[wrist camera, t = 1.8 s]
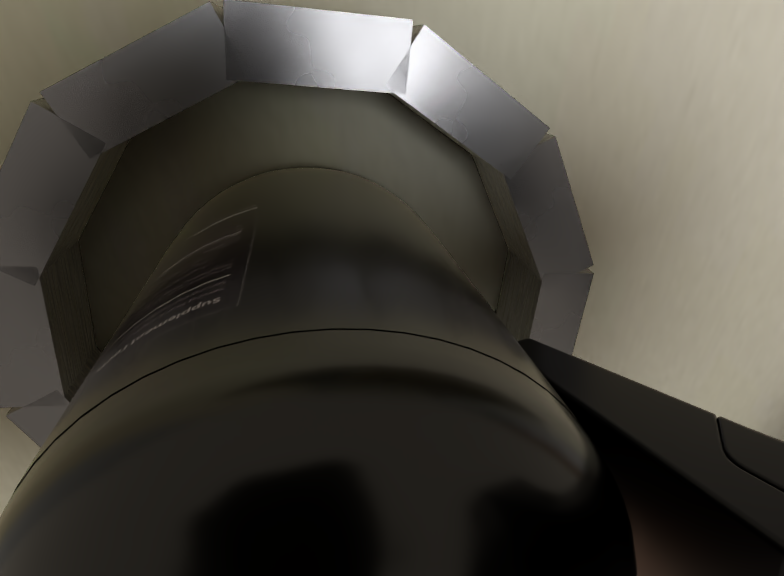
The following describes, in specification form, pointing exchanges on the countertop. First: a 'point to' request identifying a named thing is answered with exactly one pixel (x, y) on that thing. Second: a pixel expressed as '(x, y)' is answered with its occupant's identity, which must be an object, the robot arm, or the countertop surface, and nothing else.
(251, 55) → the collar
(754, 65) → the countertop surface
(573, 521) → the supplement bottle
